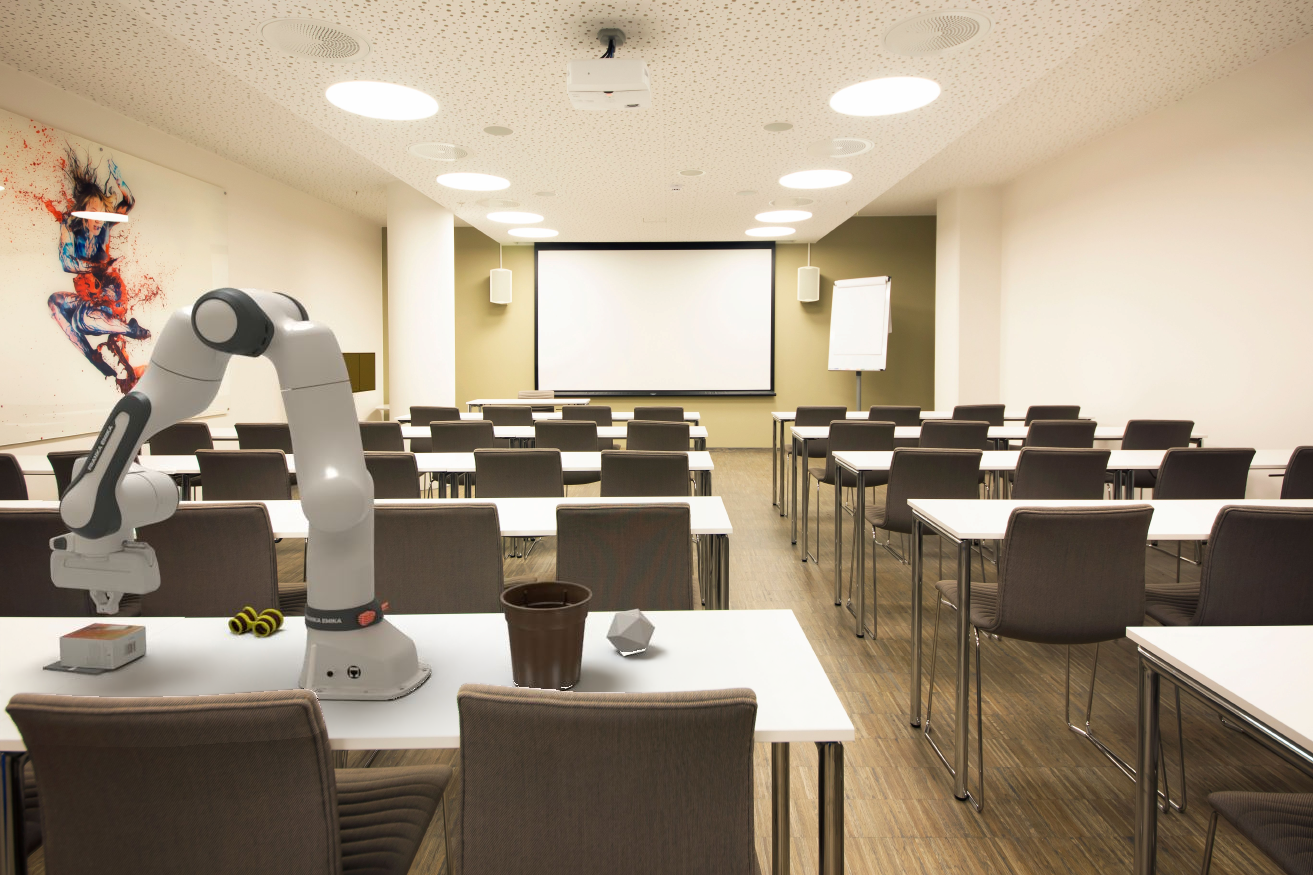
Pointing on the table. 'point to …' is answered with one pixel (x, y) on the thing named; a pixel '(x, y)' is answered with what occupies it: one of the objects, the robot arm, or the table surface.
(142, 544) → the robot arm
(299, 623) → the table surface
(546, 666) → the plant pot
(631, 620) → the die
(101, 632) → the small box
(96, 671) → the mat
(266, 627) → the opera glasses
